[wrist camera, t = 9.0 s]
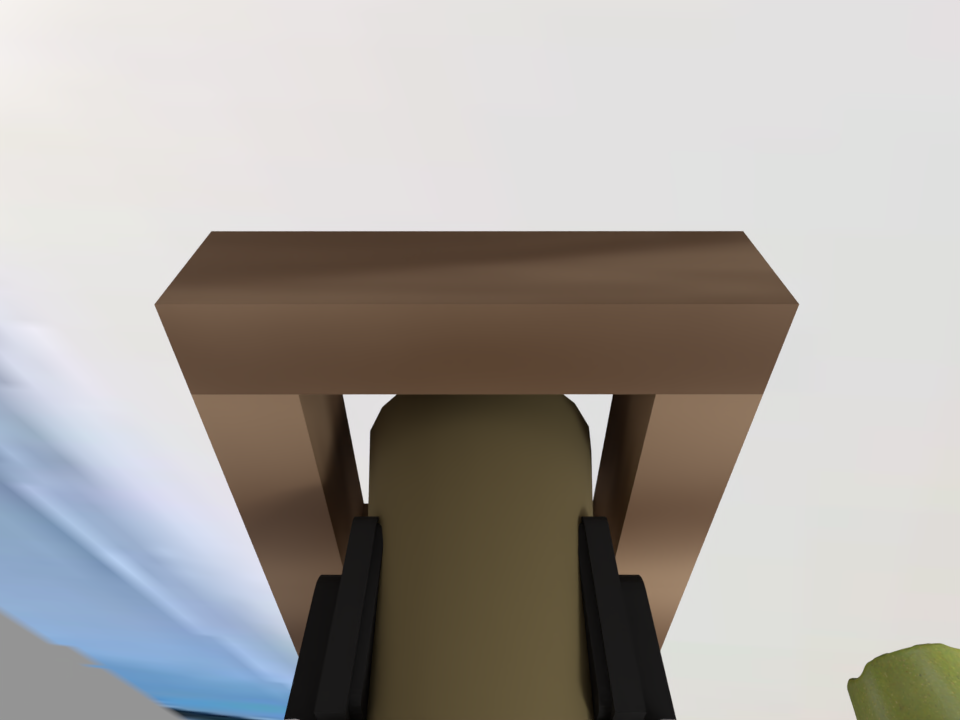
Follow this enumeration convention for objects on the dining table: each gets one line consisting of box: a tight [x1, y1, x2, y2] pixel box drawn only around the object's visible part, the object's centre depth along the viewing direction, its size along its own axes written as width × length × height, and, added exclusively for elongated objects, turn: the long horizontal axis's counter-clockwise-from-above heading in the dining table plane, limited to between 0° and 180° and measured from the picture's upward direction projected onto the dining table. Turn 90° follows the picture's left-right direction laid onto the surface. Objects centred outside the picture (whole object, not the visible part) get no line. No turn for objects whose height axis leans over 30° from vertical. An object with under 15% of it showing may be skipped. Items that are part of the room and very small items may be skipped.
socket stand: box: [154, 231, 799, 657], centre depth 13 cm, size 17×13×13 cm
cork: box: [366, 394, 594, 720], centre depth 12 cm, size 6×6×11 cm
